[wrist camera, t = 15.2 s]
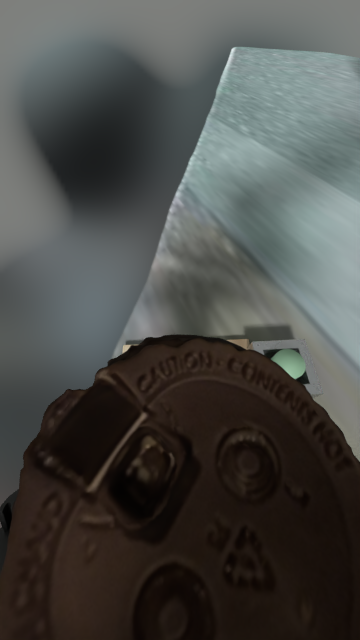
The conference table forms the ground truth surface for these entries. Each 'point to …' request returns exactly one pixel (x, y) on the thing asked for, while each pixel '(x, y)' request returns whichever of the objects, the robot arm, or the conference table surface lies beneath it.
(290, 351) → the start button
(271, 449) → the coffee cup
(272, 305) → the conference table surface
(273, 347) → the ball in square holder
